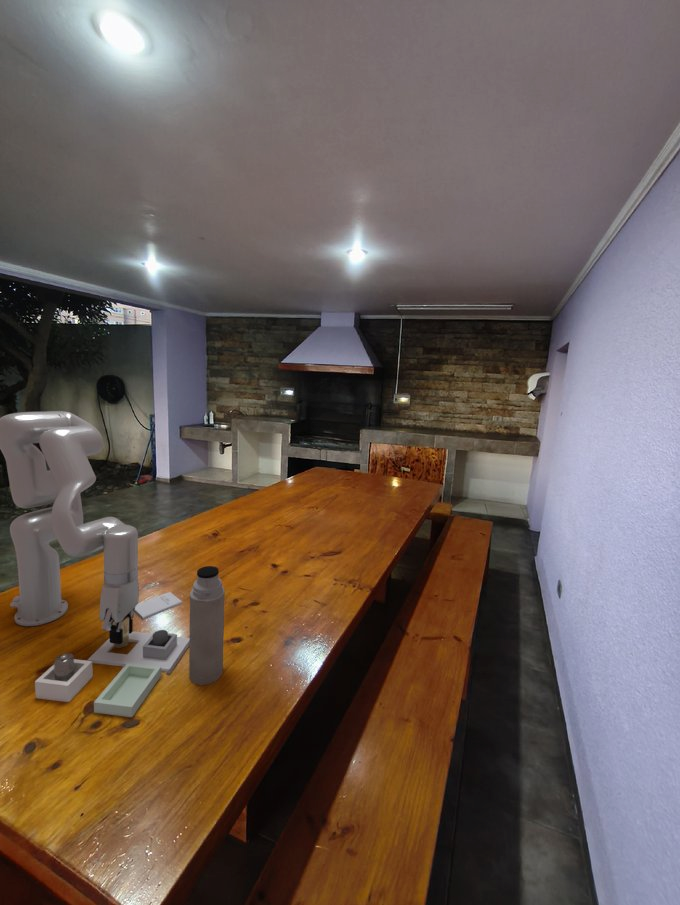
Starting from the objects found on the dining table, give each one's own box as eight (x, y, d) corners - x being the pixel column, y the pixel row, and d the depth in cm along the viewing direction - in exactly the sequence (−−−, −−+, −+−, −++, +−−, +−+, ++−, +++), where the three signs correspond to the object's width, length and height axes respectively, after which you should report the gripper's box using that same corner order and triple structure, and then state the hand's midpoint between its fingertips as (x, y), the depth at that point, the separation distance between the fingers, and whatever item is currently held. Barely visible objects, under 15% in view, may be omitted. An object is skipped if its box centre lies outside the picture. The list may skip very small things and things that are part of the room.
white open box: (36, 701, 86) (34, 681, 85) (62, 675, 94) (61, 657, 93) (69, 705, 86) (68, 685, 85) (92, 679, 93) (92, 661, 92)
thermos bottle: (195, 660, 102) (196, 561, 97) (226, 662, 102) (228, 563, 97) (184, 684, 94) (184, 577, 89) (217, 685, 94) (220, 579, 89)
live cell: (110, 646, 101) (110, 619, 100) (119, 637, 105) (118, 611, 103) (123, 648, 101) (123, 621, 100) (131, 639, 105) (132, 613, 103)
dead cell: (51, 691, 88) (49, 660, 86) (63, 679, 91) (62, 649, 90) (67, 693, 88) (65, 662, 86) (78, 681, 91) (77, 651, 90)
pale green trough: (94, 715, 84) (93, 702, 83) (127, 674, 96) (127, 662, 95) (132, 720, 83) (131, 707, 83) (161, 678, 95) (161, 666, 95)
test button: (149, 651, 101) (149, 638, 100) (157, 642, 104) (157, 629, 103) (163, 653, 100) (163, 639, 100) (170, 644, 104) (170, 630, 103)
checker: (87, 664, 98) (87, 648, 97) (117, 634, 109) (117, 620, 109) (169, 674, 97) (169, 658, 96) (190, 642, 108) (190, 628, 108)
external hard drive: (130, 610, 122) (169, 595, 131) (142, 621, 117) (182, 605, 126) (130, 605, 121) (169, 590, 131) (142, 617, 116) (182, 600, 126)
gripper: (126, 557, 108) (126, 616, 111) (83, 589, 91) (85, 657, 95) (152, 560, 107) (152, 620, 111) (114, 593, 91) (115, 661, 95)
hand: (121, 636), depth 103 cm, fingers closed on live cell, 3 cm apart
